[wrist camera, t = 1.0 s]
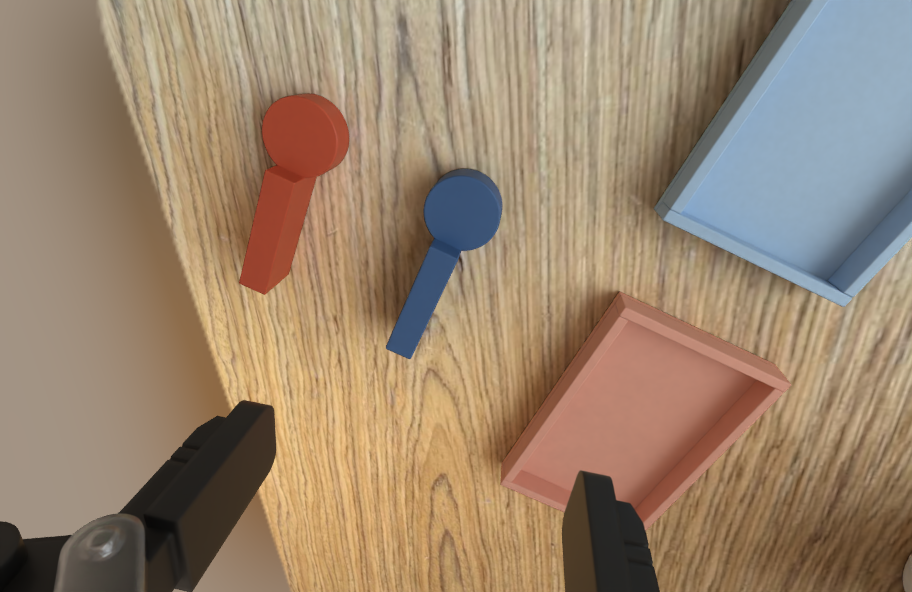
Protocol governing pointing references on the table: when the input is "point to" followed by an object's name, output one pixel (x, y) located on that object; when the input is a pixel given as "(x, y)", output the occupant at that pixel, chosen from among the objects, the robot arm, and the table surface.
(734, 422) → the tray pink
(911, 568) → the utensil holder
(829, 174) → the tray blue
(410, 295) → the spoon blue
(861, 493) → the table surface
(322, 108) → the spoon red
